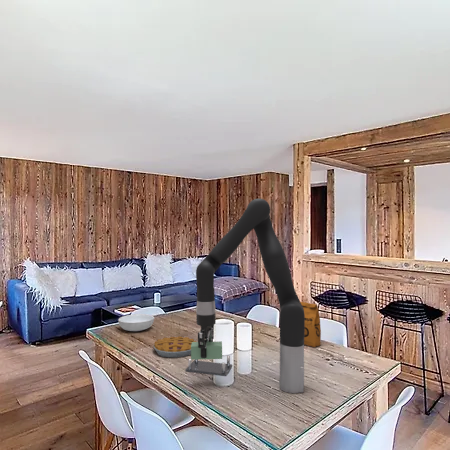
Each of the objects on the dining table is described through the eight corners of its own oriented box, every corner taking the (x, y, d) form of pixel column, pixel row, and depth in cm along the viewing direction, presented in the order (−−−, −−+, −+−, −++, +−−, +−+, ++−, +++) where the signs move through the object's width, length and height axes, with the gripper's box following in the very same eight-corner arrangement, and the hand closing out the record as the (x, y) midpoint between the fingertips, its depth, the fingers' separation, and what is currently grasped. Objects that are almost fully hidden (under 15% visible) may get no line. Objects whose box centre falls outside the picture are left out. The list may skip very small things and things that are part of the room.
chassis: (232, 366, 158) (232, 355, 158) (226, 376, 148) (226, 364, 148) (194, 362, 163) (194, 351, 163) (185, 371, 152) (185, 360, 152)
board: (222, 353, 143) (221, 341, 143) (222, 358, 137) (222, 345, 137) (192, 354, 142) (191, 342, 142) (191, 359, 137) (190, 346, 137)
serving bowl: (138, 322, 229) (138, 312, 229) (161, 328, 216) (161, 317, 216) (110, 330, 212) (111, 318, 212) (134, 336, 199) (134, 324, 199)
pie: (153, 360, 165) (153, 349, 165) (153, 345, 186) (153, 335, 186) (200, 357, 169) (200, 347, 169) (194, 343, 190) (194, 333, 190)
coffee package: (313, 349, 182) (314, 306, 182) (293, 343, 191) (293, 302, 191) (323, 345, 189) (324, 303, 189) (304, 339, 198) (304, 300, 198)
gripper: (209, 317, 132) (210, 362, 132) (219, 308, 146) (220, 349, 146) (190, 316, 134) (191, 360, 134) (202, 307, 148) (203, 348, 148)
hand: (206, 354), depth 140 cm, fingers closed on board, 6 cm apart
